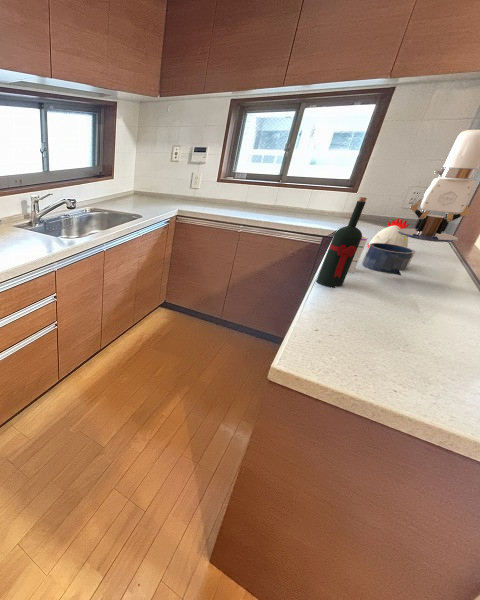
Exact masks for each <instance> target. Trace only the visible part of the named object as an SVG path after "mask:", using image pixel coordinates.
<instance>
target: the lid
mask: <svg viewBox="0 0 480 600" xmlns="http://www.w3.org/2000/svg"><path fill="white" fill-rule="evenodd" d="M444 219H445V216H444V215H439V214H438V215H437V214H427V216H426V217H425V223H424V225H423V227H422V229H421V231H419V232H418V231H416V230H415V229H416V228H405V229H398V230H397V232H398V233H399V234H402V235H405V236H407V237H408V238H411V239H415V240H420V241H426V242H434V243H435V242H436V243H454V242H457V241H459V238H458V237H457V236H455V235H452V234H449V233H444V232H442V233H441V234H438V233H437V232H438V230H439V228H440V226H441V224H442V222H443V220H444Z"/></svg>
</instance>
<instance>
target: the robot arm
mask: <svg viewBox="0 0 480 600" xmlns="http://www.w3.org/2000/svg"><path fill="white" fill-rule="evenodd" d="M479 167H480V129H466V130H463V131H461V132H460V133H459V134H458V136H456V139H455V141H454V142H453V145H452V147H451V150H450V151H449V154H448V155H447V158H446V160H445V162H444V164H443V165H442V167H441V168H438V169H437V168H436V169H434V172H433V174H434V175H438V176H437V177H434V178H433V179H432V181H431V183H430V184H429V185H428V187H427V188H426V190H425V192H424V193H423V195H422V197H421V198H420V199H419V200H417V201H415V202H414V203H413V204H411V205H410V206H409V208H408V209H410V210H411V211H412V212H413V213H414V214H415V215H416V217H417V221H416V223H415V225H414V228H413V229H415V230H416V231H418V232H419V231H421V229H422V227H423V225H424V223H425V217H426V216H427V215H429V214H430V212H436V213H445V214H444V217H445V218H444V220H443V222H442V224H441V226H440V228H439V230H438V232H437V233H438V234H441V233H444V232H445V231H446V230H447V228H448V226H449V224H450V223H451V222H453V221H455V220H457V219H459V218H461V217H465V216H468V215H471V210H470V208H469V206H468V203H469V201H470V198H471V196H472V194H473V191H474V189H475V185H476V180H475V179H474V177H475V176H476V174H477V171H478V170H479ZM418 207H419V209H418ZM420 209H421V210H420Z"/></svg>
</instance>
